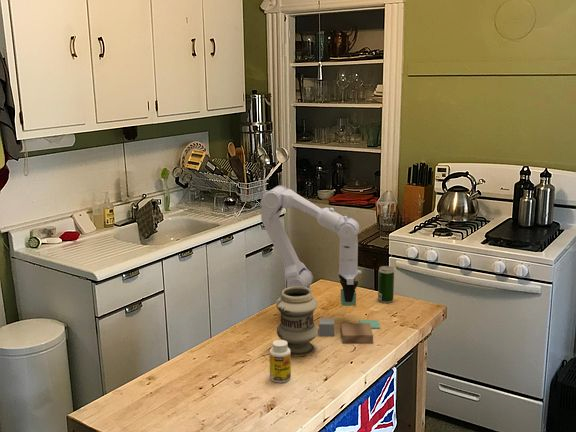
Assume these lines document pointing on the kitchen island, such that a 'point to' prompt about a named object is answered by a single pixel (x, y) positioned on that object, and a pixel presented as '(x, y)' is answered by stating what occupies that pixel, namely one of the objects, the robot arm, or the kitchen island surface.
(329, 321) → the slate block
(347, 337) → the walnut block
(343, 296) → the teal block
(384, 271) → the beer can
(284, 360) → the supplement bottle
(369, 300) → the kitchen island surface
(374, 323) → the teal square tile
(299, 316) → the apothecary jar
